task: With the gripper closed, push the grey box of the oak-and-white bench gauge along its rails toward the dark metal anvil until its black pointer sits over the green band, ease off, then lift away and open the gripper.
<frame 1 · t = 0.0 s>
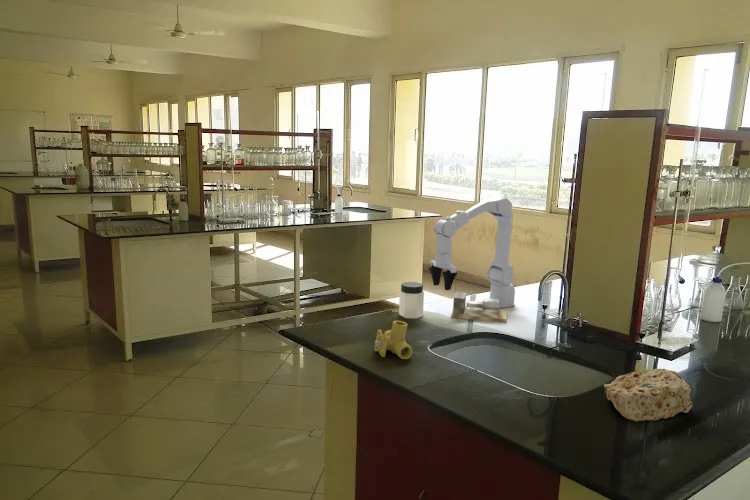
hand: (441, 287, 212), 10 cm above the counter, fingers open, 7 cm apart
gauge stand: (479, 315, 212), on the counter
grey box: (490, 307, 209), point 4 cm above the counter, slide at 0.0 cm
rock: (647, 407, 139), on the counter
ball valve: (390, 354, 171), on the counter
jar: (411, 315, 210), on the counter
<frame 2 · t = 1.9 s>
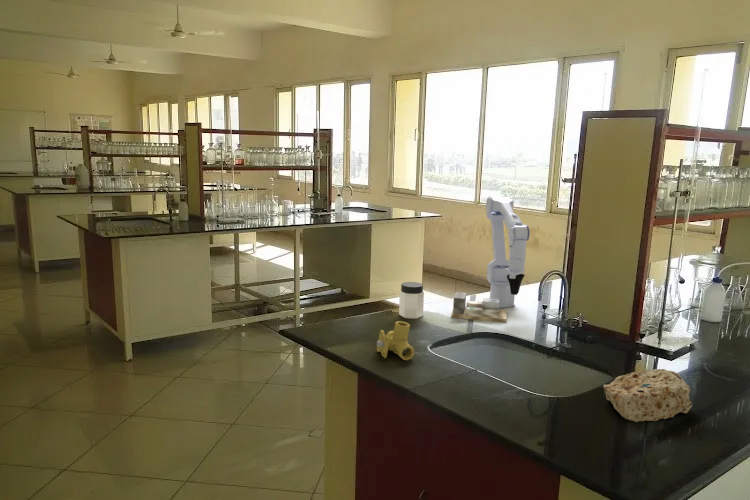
hand: (514, 293, 208), 9 cm above the counter, fingers closed
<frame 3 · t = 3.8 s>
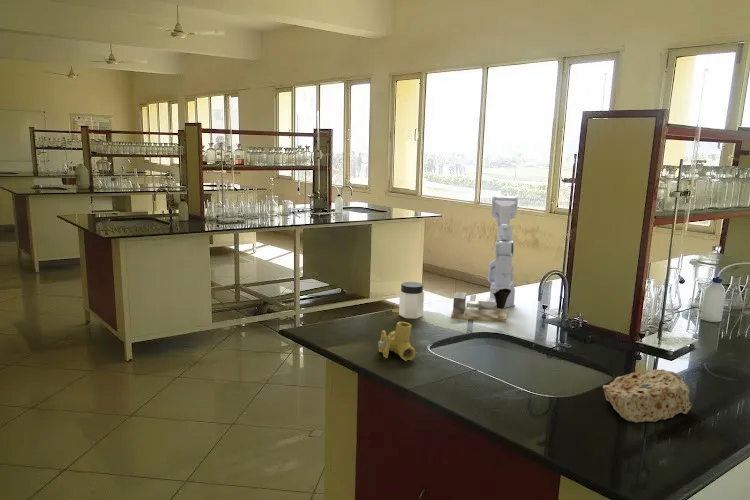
hand: (500, 308, 210), 3 cm above the counter, fingers closed
grey box: (486, 307, 209), point 4 cm above the counter, slide at 1.4 cm, touching gripper
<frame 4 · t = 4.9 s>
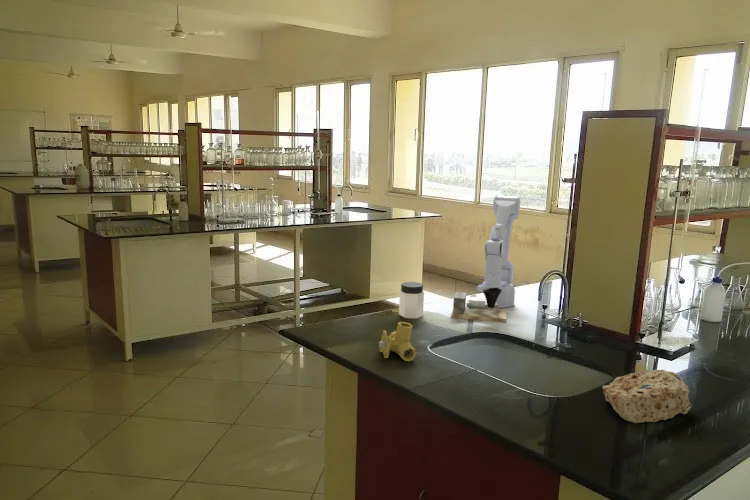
hand: (490, 307, 211), 3 cm above the counter, fingers closed
grey box: (476, 306, 210), point 4 cm above the counter, slide at 5.0 cm, touching gripper
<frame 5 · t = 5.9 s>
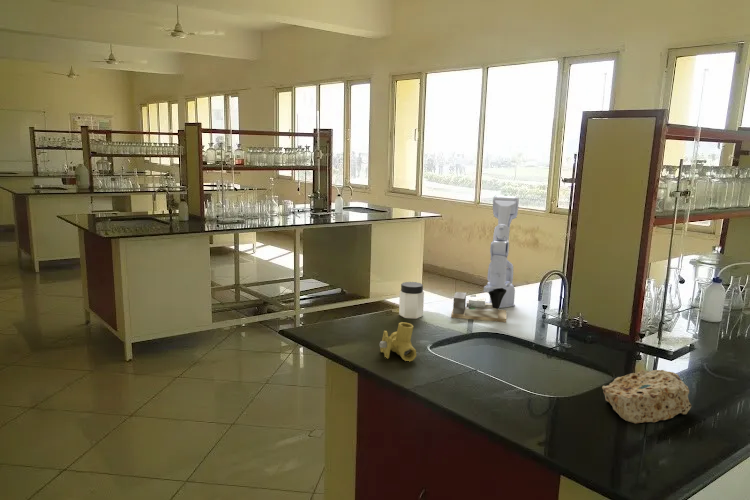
hand: (495, 307, 210), 3 cm above the counter, fingers closed
grey box: (476, 306, 210), point 4 cm above the counter, slide at 5.0 cm
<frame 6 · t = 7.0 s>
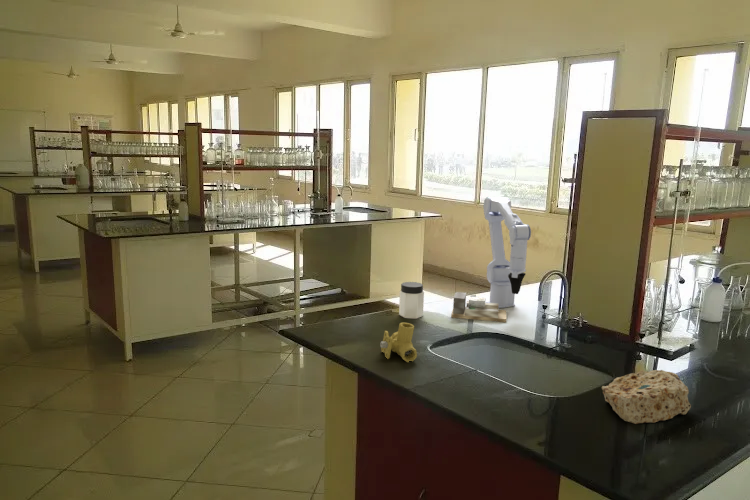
hand: (515, 292, 209), 9 cm above the counter, fingers closed
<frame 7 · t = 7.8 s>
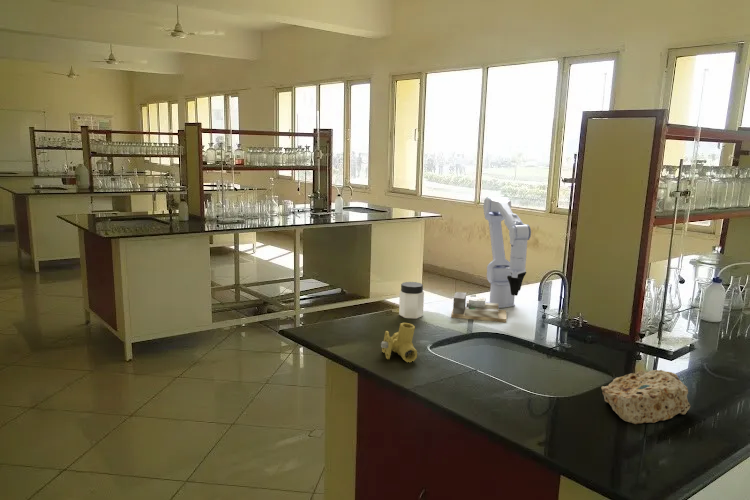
hand: (515, 292, 209), 9 cm above the counter, fingers open, 7 cm apart
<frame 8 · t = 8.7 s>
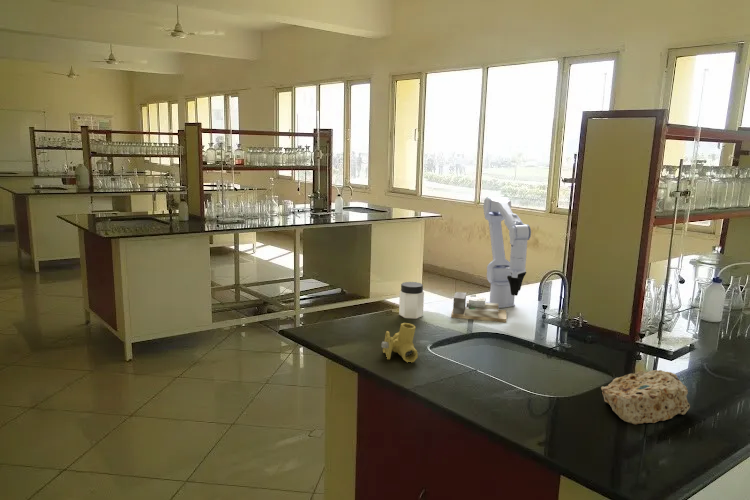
hand: (515, 292, 209), 9 cm above the counter, fingers open, 7 cm apart
at the end: grey box slide at 5.0 cm; jar moved 0.2 cm from its start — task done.
